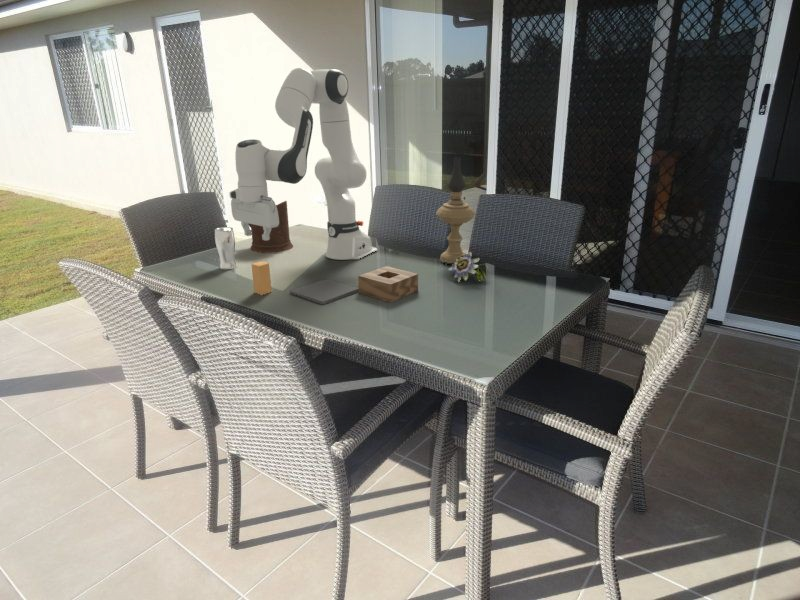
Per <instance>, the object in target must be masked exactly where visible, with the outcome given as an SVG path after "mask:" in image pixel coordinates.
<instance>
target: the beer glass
mask: <svg viewBox="0 0 800 600" xmlns="http://www.w3.org/2000/svg"><path fill="white" fill-rule="evenodd" d="M214 241H215V245H216V249H217V252H218V256H219V261H220V262H219V264H220V265H219V268H220V270H225V271H226V270H234V269H236V268H237V262H236V259H235V250H236V241H235V233H234V228H233V227H230V226H229V227H226V226H223V227H222V226H221V227H216V228H215V229H214Z"/></svg>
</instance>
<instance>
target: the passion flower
mask: <svg viewBox="0 0 800 600" xmlns="http://www.w3.org/2000/svg"><path fill="white" fill-rule="evenodd" d="M466 254H467V255H466ZM466 254H465V255H461V257H460V256H459V257H457V259H456V260H455V261H456V262H455V263H454V264H452V265H451V266H450V267H448V268H447V271H449V272H452V273H453V274H454V275H453V279H457V281H458V280H459V281H460V280H461V281H462V280H464V281H468V280H469V275H471V274H472V275H475V276H476V279H477V281H478V282H479V280H480V281H482V282H483V279H484V280H486V273H485V271H484V270H483V269H482V268H481V267H480V266H482V265H484V268H485V270H488V266H487V263H486V262H485V263H482V264H476V263H478V262H479V261H480V258H479V257H475V258H472V257H473V253H472V251H469V252H468V253H466ZM461 281H460V282H461Z"/></svg>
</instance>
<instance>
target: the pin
mask: <svg viewBox="0 0 800 600" xmlns="http://www.w3.org/2000/svg"><path fill="white" fill-rule="evenodd" d="M251 273H252V274H251V275H252V284H253V292H255V294H256V293H258V294H257V295H259V294H260V296H263V294H264V295H267V294H266V293H268V294H271V293H272V281H271V280H272V279H271V271H270V263H269V262H265V261H257V262H255V263H251ZM270 292H271V293H270Z"/></svg>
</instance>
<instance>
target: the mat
mask: <svg viewBox="0 0 800 600" xmlns="http://www.w3.org/2000/svg"><path fill="white" fill-rule="evenodd" d="M289 293H290V295H293V294H294V295H293V296H296V295H297V296H296V297H299V296H300V297H299V298H302V297H303V298H302V299H305V298H306V299H305V300H308V301H311V300H312V301H311V302H314V303H318V304H319V305H322V306H323V305H326V304H328V303H331V302H334V301H337V300H340V299H342V298H345V297H348V296H350V295H353V294H355V293H359V287H354V286H351V285H348V284H344V283H341V282H337V281H334V280H329V279H328V278H327V279H323V280H319V281H316V282H313V283H309V284H307V285H303V286H301V287H297V288H295V289H291V290H289Z"/></svg>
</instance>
